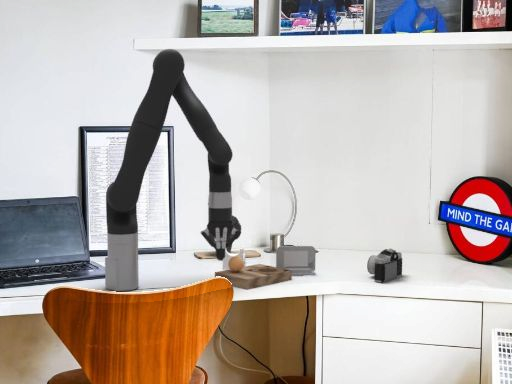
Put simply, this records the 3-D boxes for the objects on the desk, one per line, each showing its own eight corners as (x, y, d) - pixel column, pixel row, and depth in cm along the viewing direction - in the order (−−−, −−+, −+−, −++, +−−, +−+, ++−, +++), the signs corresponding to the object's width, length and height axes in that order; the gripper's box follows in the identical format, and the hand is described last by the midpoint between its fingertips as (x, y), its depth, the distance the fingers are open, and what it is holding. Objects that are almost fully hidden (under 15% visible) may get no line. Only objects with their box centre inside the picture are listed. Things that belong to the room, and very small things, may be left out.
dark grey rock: (243, 254, 263) (243, 208, 262) (243, 261, 248) (243, 213, 246) (207, 254, 263) (207, 208, 262) (204, 261, 248) (204, 213, 246)
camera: (384, 272, 230) (384, 243, 229) (407, 276, 224) (408, 246, 223) (360, 279, 218) (360, 249, 217) (384, 283, 212) (385, 252, 212)
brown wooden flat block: (246, 289, 204) (246, 279, 204) (214, 281, 215) (214, 272, 214) (291, 279, 218) (291, 270, 217) (259, 272, 228) (259, 263, 228)
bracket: (242, 270, 234) (243, 248, 233) (222, 269, 234) (222, 248, 233) (245, 263, 247) (245, 242, 246) (226, 262, 247) (226, 242, 246)
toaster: (312, 270, 233) (312, 242, 232) (315, 276, 224) (315, 246, 223) (274, 270, 233) (274, 242, 232) (276, 276, 223) (276, 246, 223)
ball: (235, 273, 212) (235, 258, 211) (224, 271, 215) (224, 256, 215) (246, 271, 215) (246, 256, 215) (236, 269, 219) (236, 254, 218)
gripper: (201, 207, 207) (201, 262, 209) (243, 206, 210) (243, 261, 212) (197, 205, 214) (198, 258, 216) (238, 204, 217) (238, 256, 219)
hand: (220, 259), depth 214 cm, fingers closed
